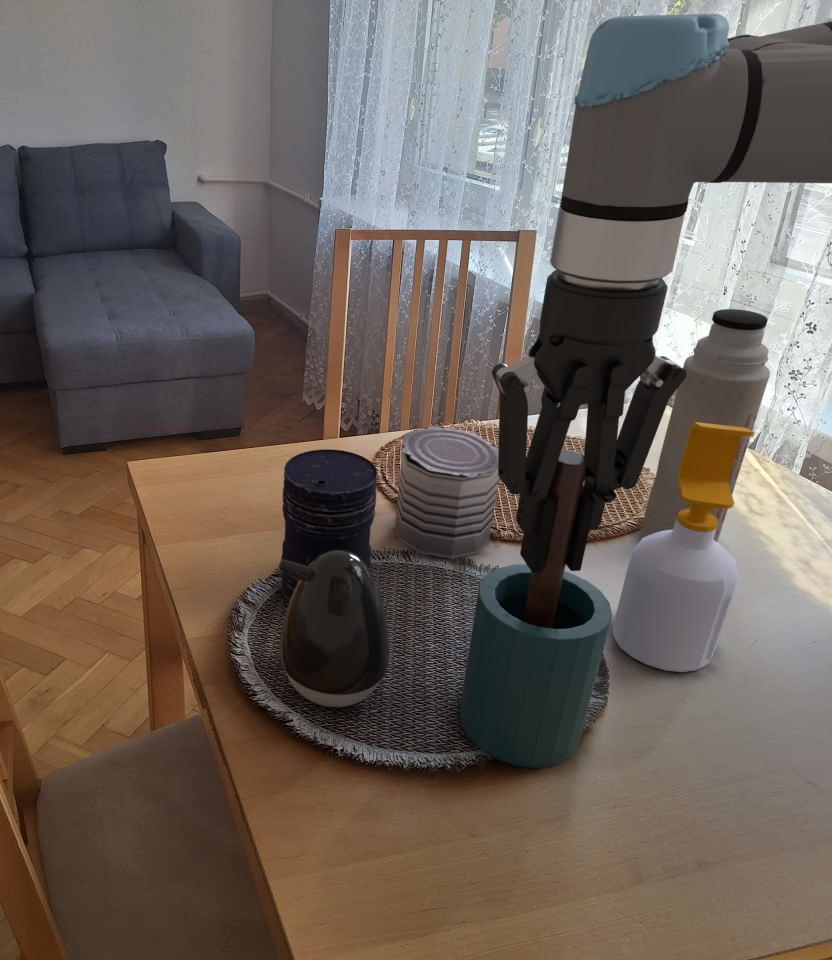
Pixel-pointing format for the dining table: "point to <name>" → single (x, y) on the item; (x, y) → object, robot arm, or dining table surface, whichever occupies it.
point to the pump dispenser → (334, 630)
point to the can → (446, 492)
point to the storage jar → (327, 507)
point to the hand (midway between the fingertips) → (549, 561)
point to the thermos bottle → (711, 406)
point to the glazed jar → (532, 669)
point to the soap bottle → (684, 565)
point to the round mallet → (556, 541)
